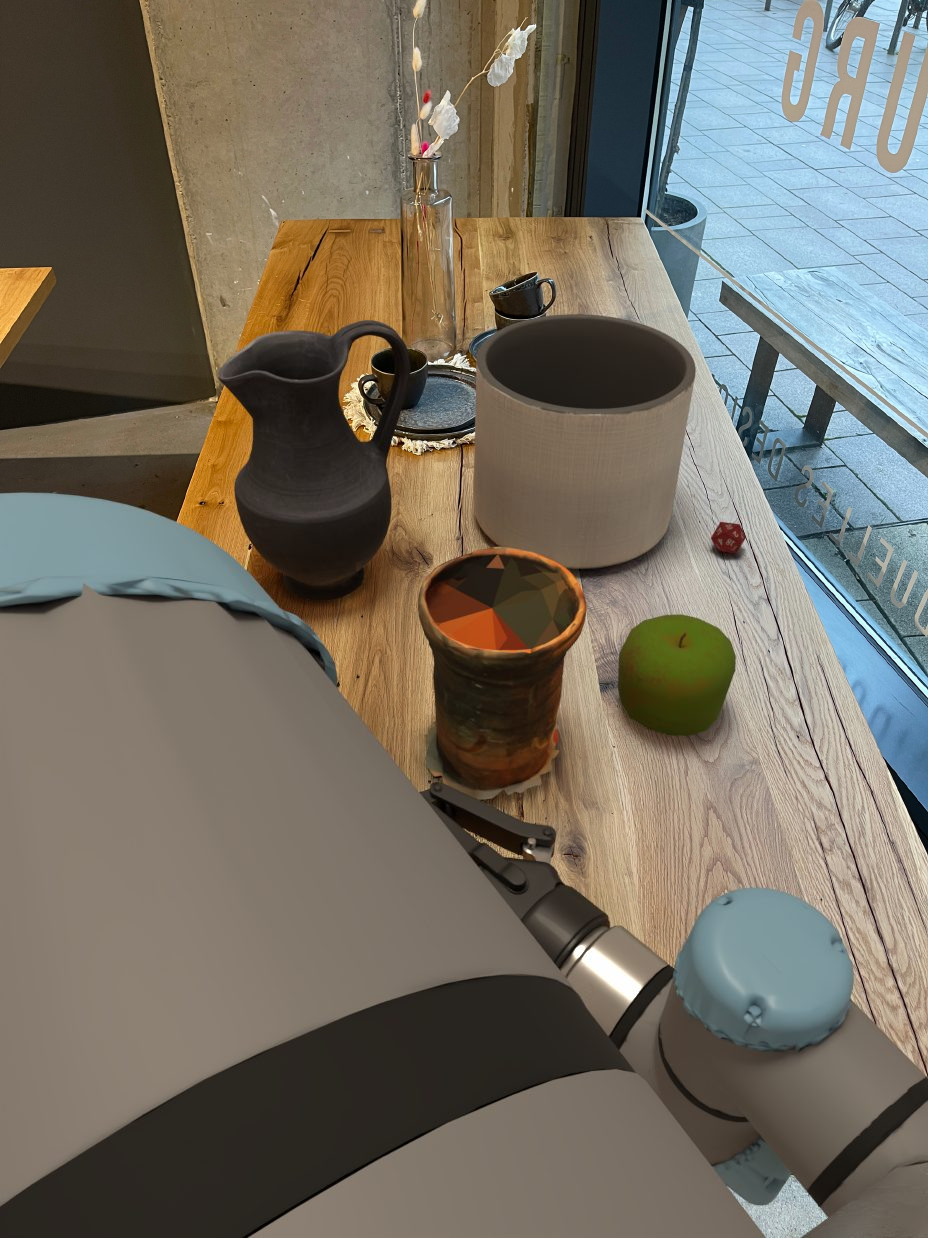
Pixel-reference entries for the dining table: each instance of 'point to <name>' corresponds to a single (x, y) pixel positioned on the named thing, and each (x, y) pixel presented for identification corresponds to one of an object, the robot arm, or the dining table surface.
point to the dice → (728, 537)
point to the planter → (579, 437)
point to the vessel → (497, 666)
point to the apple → (675, 674)
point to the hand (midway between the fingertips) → (337, 764)
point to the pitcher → (313, 458)
